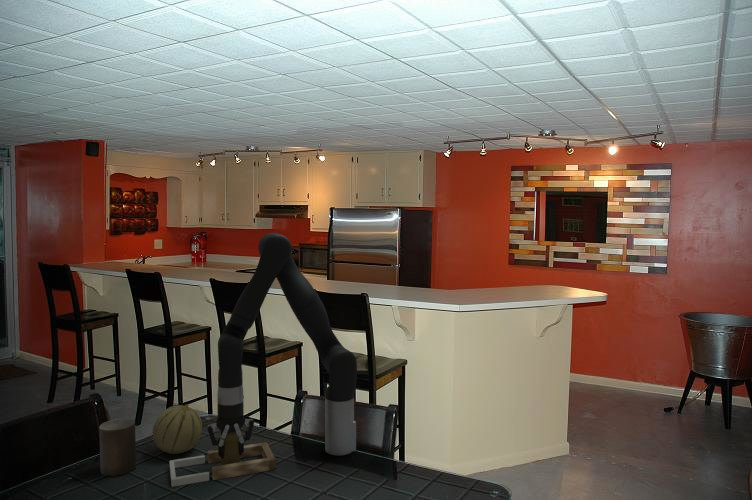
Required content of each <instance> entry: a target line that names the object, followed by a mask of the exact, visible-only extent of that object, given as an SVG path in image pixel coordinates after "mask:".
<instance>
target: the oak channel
mask: <svg viewBox="0 0 752 500" xmlns="http://www.w3.org/2000/svg"><path fill="white" fill-rule="evenodd" d="M256 456H261V457H262V458H259V459H252V460H246V461H241V462H239V463H233V464H227V465H221V464H220V465H216V466H212V467H211V478H212V481H216V480H221V479H227V478H232V477H238V476H244V475H250V474H251V475H252V474H257V473H261V472H262V473H263V472H268V471H272V470H277V459H276V456H275V455H274V453H273V451H272V450H271V448H270V446H269V444H268V442H258V443H251V444H247V445H245V444H244V452H243V453H242V455H240V459H243V458H244V459H245V458H251V457H256ZM221 461H222V458H221V457H219V455H218V449H215V450H213V449H212V450H207V463H208V464H212V463H214V464H215V463H221Z"/></svg>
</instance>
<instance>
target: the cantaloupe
mask: <svg viewBox="0 0 752 500" xmlns="http://www.w3.org/2000/svg"><path fill="white" fill-rule="evenodd" d="M202 432H203V423H202V419H201V417H200V415H199V413H198V412H197V411H196V410H195V409H194V408H192V407H190V405H189V403H188V404H185V405H179V404H178V405H173V406H169V407H168V408H166V409H165V410H163V411H162V412H161V413H160V415H158V417H157V418H156V420H155V421H154V424H153V428H152V439H153V442H154V444H155V445H156V446H157V448H158V449H159V450H161V451H163V452H164V453H167V454H171V455H178V454H183V453H186V452H188V451H190V450H192V449H193V448H194V447H195V445H197V443H199V440H200V438H201V436H202Z"/></svg>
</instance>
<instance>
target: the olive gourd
mask: <svg viewBox="0 0 752 500" xmlns="http://www.w3.org/2000/svg"><path fill="white" fill-rule="evenodd" d="M238 441H239V437H238V435H237V433H236V432H230V433H227V435H226V437H225V439H224V443H223V446H224V458H222V461H221V462H220V463H221V464H220V465H227V464H233V463H239V462H242V461H241V459H242V458H240V455H239V445H238Z"/></svg>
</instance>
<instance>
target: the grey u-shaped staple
mask: <svg viewBox="0 0 752 500" xmlns="http://www.w3.org/2000/svg"><path fill="white" fill-rule="evenodd" d="M168 464H169V474H170V484H171V488H173V487H178V486H184V485H185V486H186V485H190V484H196V483H202V482H208V481H210V471H204V472H199V473H193V474H187V475H181V476H176V475H177V474H176V469H177V468H184V467H191V466H196V465H203V464H206V456H205V455H197V456H191V457H185V458H177V459H173V460H169V463H168Z"/></svg>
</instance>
